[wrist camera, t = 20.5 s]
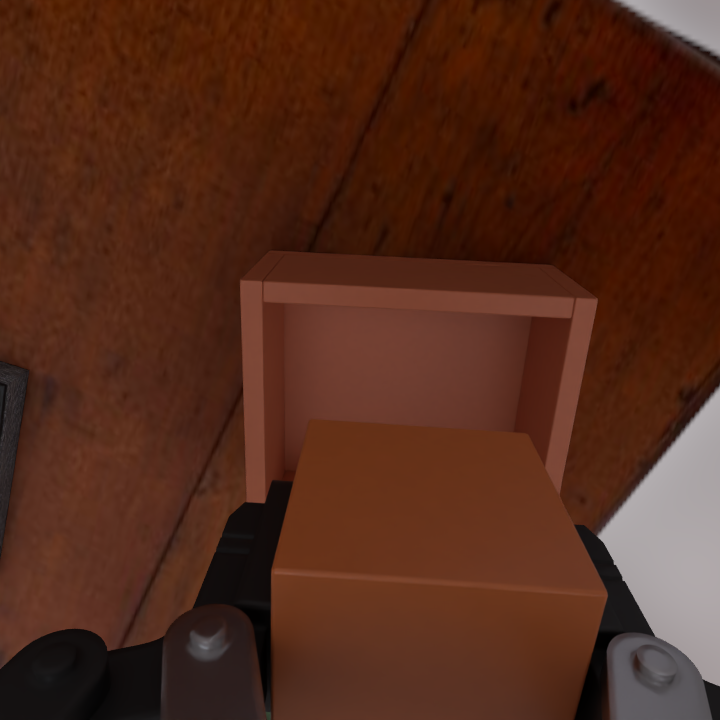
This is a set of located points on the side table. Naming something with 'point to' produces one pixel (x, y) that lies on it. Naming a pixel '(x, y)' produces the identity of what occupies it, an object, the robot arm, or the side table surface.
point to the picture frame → (9, 430)
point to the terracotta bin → (407, 351)
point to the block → (428, 580)
